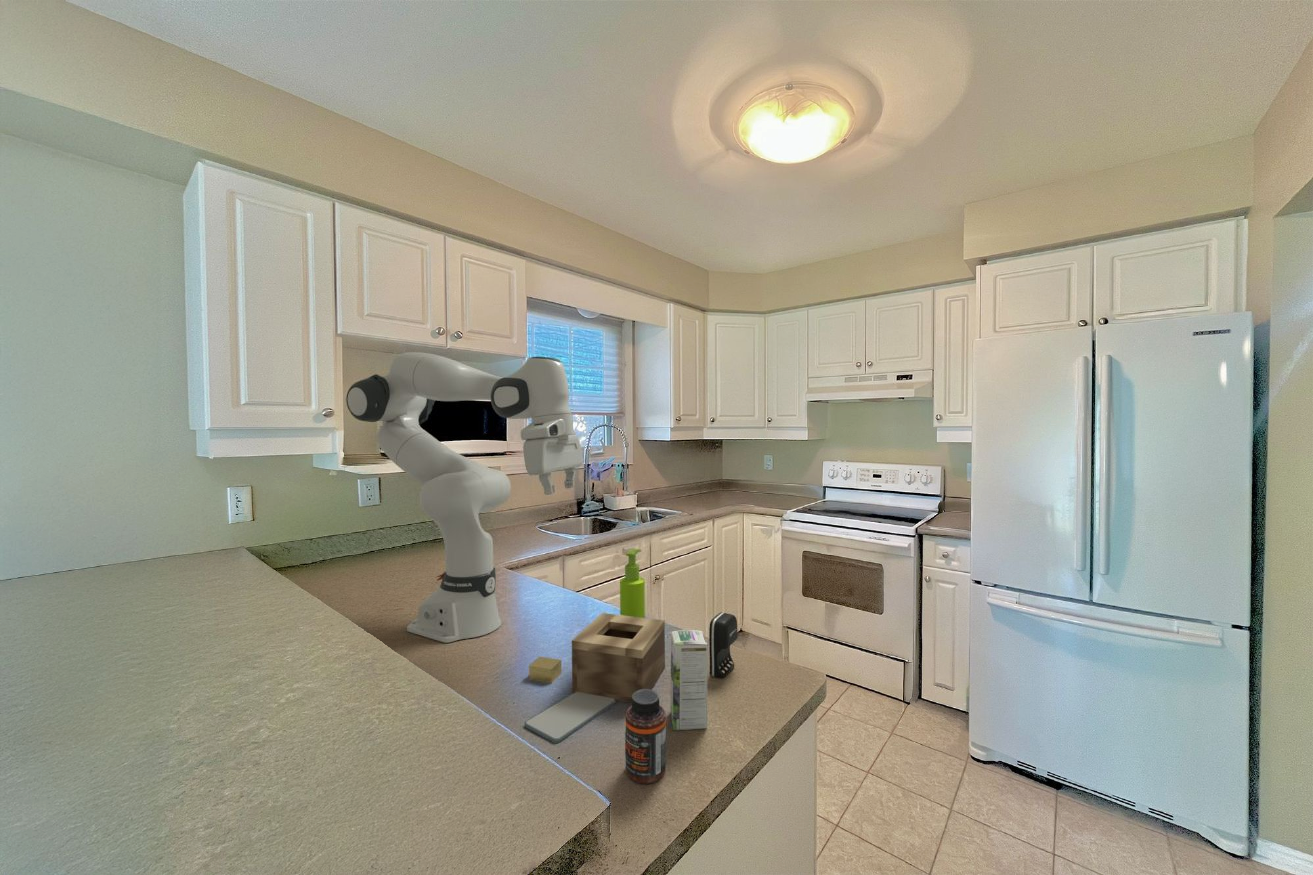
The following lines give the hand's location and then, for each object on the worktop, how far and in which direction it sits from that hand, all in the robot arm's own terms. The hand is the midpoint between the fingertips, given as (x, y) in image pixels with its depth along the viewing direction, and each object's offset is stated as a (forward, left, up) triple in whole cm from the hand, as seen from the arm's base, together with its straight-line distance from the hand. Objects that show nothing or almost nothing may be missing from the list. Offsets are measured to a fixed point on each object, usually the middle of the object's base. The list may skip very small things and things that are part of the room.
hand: (560, 491), depth 112 cm
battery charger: (+37, 0, -36) cm, 51 cm away
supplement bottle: (+31, -32, -36) cm, 57 cm away
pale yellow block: (+3, -12, -36) cm, 38 cm away
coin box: (+18, -9, -36) cm, 41 cm away
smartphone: (+14, -22, -36) cm, 44 cm away
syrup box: (+34, -18, -36) cm, 52 cm away
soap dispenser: (+13, +12, -36) cm, 40 cm away
